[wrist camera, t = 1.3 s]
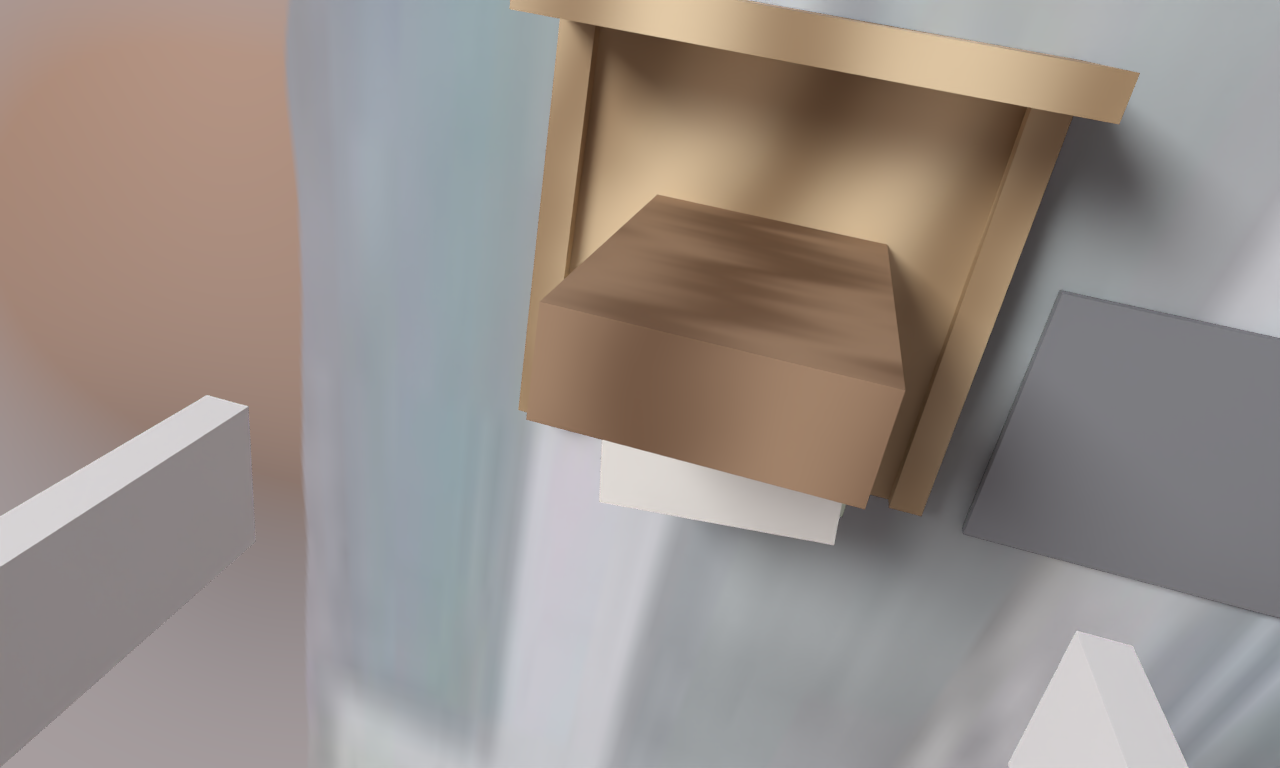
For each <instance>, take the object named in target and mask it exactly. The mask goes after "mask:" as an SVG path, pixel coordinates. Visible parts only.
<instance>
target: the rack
mask: <svg viewBox="0 0 1280 768" xmlns="http://www.w3.org/2000/svg"><path fill="white" fill-rule="evenodd" d="M510 9H512V10H518V11H523V12H528V13H534V14H539V15H544V16H549V17H555V18H560V24H559V33H558V43H557V52H556V62H555V71H554V80H553V90H552V99H551V109H550V118H549V127H548V137H547V146H546V156H545V165H544V175H543V184H542V193H541V203H540V212H539V222H538V231H537V240H536V250H535V259H534V269H533V278H532V288H531V297H530V306H529V316H528V325H527V335H526V344H525V353H524V363H523V372H522V382H521V391H520V401H519V410H521V411H524V412H527V410H528V401H529V392H530V383H531V374H532V365H533V356H534V347H535V338H536V329H537V320H538V311H539V302H540V301H541V300H542V299H543V298H544V297H545V296H546V295H547V294H549V293H550V292H551V291H552V290H553V289H554V288H555V287H556V286H557V285H558V284H560V283H561V282H562V281H563V280H564V279H565V278H566V277H567V276H568V275H569V274H570V273H572V272H573V271H574V270H575V269H576V268H577V267H578V266H579V265H580V264H581V263H583V262H584V261H585V260H586V259H587V258H588V257H589V256H590V255H591V254H592V253H594V252H595V251H596V250H597V249H598V248H599V247H600V246H601V245H602V244H603V243H605V242H606V241H607V240H608V239H609V238H610V237H611V236H612V235H613V234H614V233H616V232H617V231H618V230H619V229H620V228H621V227H622V226H623V225H624V224H625V223H626V222H628V221H629V220H630V219H631V218H632V217H633V216H634V215H635V214H636V213H637V212H639V211H640V210H641V209H642V208H643V207H644V206H645V205H646V204H647V203H648V202H650V201H651V200H652V199H653V198H654V197H655V196H656V195H657V194H658V195H662V196H667V197H672V198H676V199H681V200H685V201H690V202H695V203H699V204H704V205H708V206H713V207H718V208H722V209H727V210H731V211H736V212H740V213H745V214H750V215H754V216H759V217H763V218H768V219H773V220H777V221H782V222H786V223H791V224H795V225H800V226H805V227H809V228H814V229H818V230H823V231H828V232H832V233H837V234H841V235H846V236H850V237H855V238H860V239H864V240H869V241H873V242H878V243H883V244H887V248H888V256H889V264H890V272H891V280H892V288H893V295H894V303H895V311H896V319H897V327H898V335H899V343H900V351H901V359H902V367H903V375H904V383H905V393H904V396H903V399H902V402H901V405H900V408H899V411H898V414H897V417H896V420H895V423H894V425H893V428H892V431H891V434H890V437H889V440H888V443H887V446H886V449H885V452H884V455H883V458H882V461H881V464H880V467H879V469H878V472H877V475H876V478H875V481H874V484H873V487H872V490H871V493H870V495H874V496H878V497H881V498H885V499H888V501H889V508H892V509H896V510H899V511H903V512H907V513H911V514H914V515H918V516H922V513H923V510H924V508H925V505H926V502H927V500H928V497H929V495H930V492H931V489H932V487H933V484H934V481H935V479H936V476H937V473H938V471H939V468H940V466H941V463H942V460H943V458H944V455H945V452H946V450H947V447H948V445H949V442H950V439H951V437H952V434H953V431H954V429H955V426H956V423H957V421H958V418H959V416H960V413H961V410H962V408H963V405H964V402H965V400H966V397H967V394H968V392H969V389H970V387H971V384H972V381H973V379H974V376H975V373H976V371H977V368H978V366H979V363H980V360H981V358H982V355H983V352H984V350H985V347H986V344H987V342H988V339H989V337H990V334H991V331H992V329H993V326H994V323H995V321H996V318H997V315H998V313H999V310H1000V308H1001V305H1002V302H1003V300H1004V297H1005V294H1006V292H1007V289H1008V286H1009V284H1010V281H1011V279H1012V276H1013V273H1014V271H1015V268H1016V265H1017V263H1018V260H1019V258H1020V255H1021V252H1022V250H1023V247H1024V244H1025V242H1026V239H1027V236H1028V234H1029V231H1030V229H1031V226H1032V223H1033V221H1034V218H1035V215H1036V213H1037V210H1038V207H1039V205H1040V202H1041V200H1042V197H1043V194H1044V192H1045V189H1046V186H1047V184H1048V181H1049V179H1050V176H1051V173H1052V171H1053V168H1054V165H1055V163H1056V160H1057V157H1058V155H1059V152H1060V150H1061V147H1062V144H1063V142H1064V139H1065V136H1066V134H1067V131H1068V128H1069V126H1070V123H1071V121H1072V118H1073V116H1077V117H1083V118H1088V119H1093V120H1098V121H1104V122H1109V123H1114V124H1120V121H1121V119H1122V116H1123V114H1124V111H1125V109H1126V106H1127V104H1128V101H1129V99H1130V96H1131V94H1132V92H1133V89H1134V87H1135V84H1136V82H1137V79H1138V77H1139V74H1140V73H1137V72H1132V71H1128V70H1123V69H1119V68H1114V67H1109V66H1105V65H1100V64H1096V63H1091V62H1086V61H1082V60H1077V59H1071V58H1065V57H1060V56H1054V55H1049V54H1043V53H1038V52H1032V51H1027V50H1021V49H1015V48H1010V47H1004V46H999V45H993V44H988V43H982V42H976V41H971V40H965V39H960V38H954V37H949V36H943V35H938V34H932V33H926V32H921V31H915V30H910V29H904V28H899V27H893V26H887V25H882V24H876V23H871V22H865V21H860V20H854V19H849V18H843V17H837V16H832V15H826V14H821V13H815V12H810V11H804V10H799V9H793V8H787V7H782V6H776V5H771V4H765V3H760V2H754V1H748V0H510Z"/></svg>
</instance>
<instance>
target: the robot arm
mask: <svg viewBox="0 0 1280 768" xmlns="http://www.w3.org/2000/svg"><path fill="white" fill-rule="evenodd" d="M255 541H256V540H255V522H254V503H253V483H252V464H251V445H250V426H249V407H248V406H245V405H241V404H237V403H234V402H230V401H226V400H223V399H219V398H215V397H212V396H208V395H206V396H205V397H203V398H201V399H200V400H198V401H196V402H194V403H193V404H191V405H189V406H188V407H186V408H184V409H183V410H181V411H179V412H177V413H176V414H174V415H172V416H171V417H169V418H167V419H165V420H164V421H162V422H160V423H159V424H157V425H155V426H154V427H152V428H150V429H148V430H147V431H145V432H143V433H142V434H140V435H138V436H136V437H135V438H133V439H131V440H130V441H128V442H126V443H125V444H123V445H121V446H119V447H118V448H116V449H115V450H113V451H111V452H109V453H108V454H106V455H104V456H102V457H101V458H99V459H97V460H95V461H94V462H92V463H90V464H89V465H87V466H85V467H84V468H82V469H80V470H78V471H77V472H75V473H73V474H72V475H70V476H68V477H67V478H65V479H63V480H61V481H60V482H58V483H56V484H55V485H53V486H51V487H50V488H48V489H46V490H44V491H43V492H41V493H39V494H38V495H36V496H34V497H32V498H31V499H29V500H27V501H26V502H24V503H22V504H20V505H19V506H17V507H15V508H14V509H12V510H10V511H9V512H7V513H5V514H3V515H2V516H0V767H1V766H2V765H3V764H5V763H6V762H7V761H8V760H9V759H10V758H11V757H13V756H14V755H15V754H16V753H17V752H18V751H19V750H21V748H23V747H24V746H25V745H26V744H27V743H28V742H29V741H31V740H32V739H33V738H34V737H35V736H36V735H37V734H39V733H40V732H41V731H42V730H43V729H44V728H45V727H47V726H48V725H49V724H50V723H51V722H52V721H53V720H54V719H56V718H57V717H58V716H59V715H60V714H61V713H62V712H63V711H65V710H66V709H67V708H68V707H69V706H70V705H71V704H73V702H75V701H76V700H77V699H78V698H79V697H80V696H82V695H83V694H84V693H85V692H86V691H87V690H88V689H89V688H91V687H92V686H93V685H94V684H95V683H96V682H97V681H99V679H101V678H102V677H103V676H104V675H105V674H106V673H108V672H109V671H110V670H111V669H112V668H113V667H114V666H116V665H117V664H118V663H119V662H120V661H121V660H122V659H124V658H125V657H126V656H127V655H128V654H129V653H130V652H131V651H133V650H134V649H135V648H136V647H137V646H138V645H139V644H141V642H143V641H144V640H145V639H146V638H147V637H148V636H150V635H151V634H152V633H153V632H154V631H155V630H156V629H157V628H159V627H160V626H161V625H162V624H163V623H164V622H165V621H166V620H167V619H169V618H170V617H171V616H172V615H173V614H174V613H176V612H177V611H178V610H179V609H180V608H181V607H182V606H183V605H185V604H186V603H187V602H188V601H189V600H190V599H191V598H193V597H194V596H195V595H196V594H197V593H198V592H199V591H201V590H202V589H203V588H204V587H205V586H206V585H207V584H208V583H210V582H211V581H212V580H213V579H214V578H215V577H216V576H217V575H219V573H221V572H222V571H223V570H224V569H225V568H227V567H228V566H229V565H230V564H231V563H232V562H233V561H234V560H236V559H237V558H238V557H239V556H240V555H241V554H242V553H243V552H245V551H246V550H247V549H248V548H249V547H250V546H251V545H252V544H254V543H255ZM1008 766H1009V768H1188V766H1187V763H1186V761H1185V759H1184V757H1183V755H1182V752H1181V750H1180V748H1179V746H1178V744H1177V742H1176V739H1175V737H1174V735H1173V733H1172V731H1171V728H1170V726H1169V724H1168V722H1167V720H1166V717H1165V715H1164V713H1163V711H1162V709H1161V707H1160V704H1159V702H1158V700H1157V698H1156V696H1155V693H1154V691H1153V689H1152V687H1151V685H1150V683H1149V680H1148V678H1147V676H1146V674H1145V672H1144V669H1143V667H1142V665H1141V663H1140V661H1139V659H1138V656H1137V654H1136V652H1135V650H1134V648H1133V646H1132V645H1128V644H1124V643H1121V642H1117V641H1113V640H1110V639H1106V638H1102V637H1099V636H1095V635H1091V634H1088V633H1084V632H1080V631H1076V632H1075V634H1074V636H1073V638H1072V640H1071V642H1070V644H1069V646H1068V648H1067V650H1066V652H1065V654H1064V656H1063V658H1062V660H1061V662H1060V664H1059V666H1058V667H1057V669H1056V671H1055V673H1054V675H1053V677H1052V679H1051V681H1050V683H1049V685H1048V687H1047V689H1046V691H1045V693H1044V695H1043V697H1042V699H1041V701H1040V702H1039V704H1038V706H1037V708H1036V710H1035V712H1034V714H1033V716H1032V718H1031V720H1030V722H1029V724H1028V726H1027V728H1026V730H1025V732H1024V734H1023V736H1022V738H1021V739H1020V741H1019V743H1018V745H1017V747H1016V749H1015V751H1014V753H1013V755H1012V757H1011V759H1010V761H1009V763H1008Z"/></svg>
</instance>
